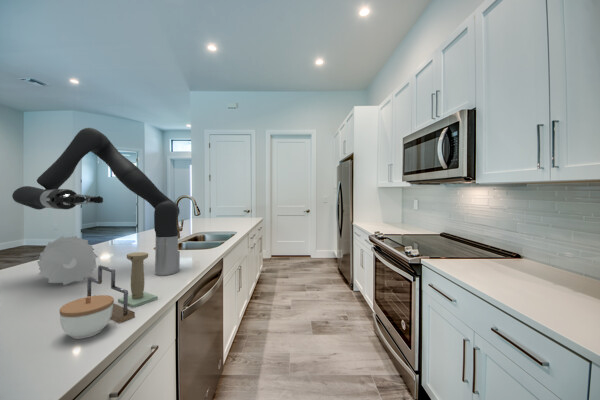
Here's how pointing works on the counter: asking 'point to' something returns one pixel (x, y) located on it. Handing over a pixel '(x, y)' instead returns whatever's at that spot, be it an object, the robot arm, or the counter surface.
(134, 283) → the handle
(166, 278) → the counter surface
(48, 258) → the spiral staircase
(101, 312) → the lidded jar
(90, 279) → the bent wire
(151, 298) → the green pad
